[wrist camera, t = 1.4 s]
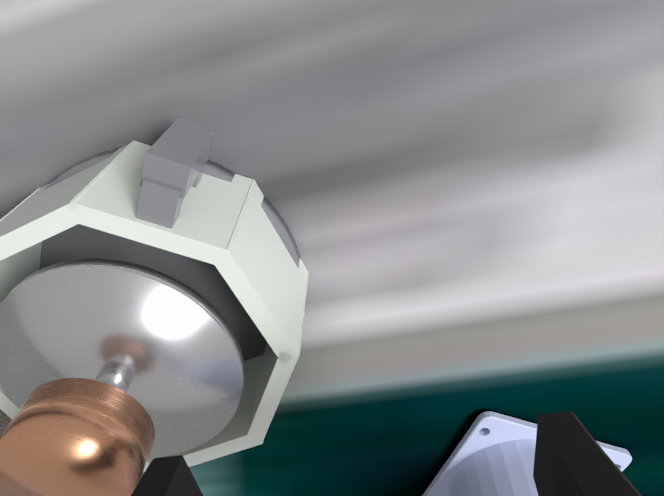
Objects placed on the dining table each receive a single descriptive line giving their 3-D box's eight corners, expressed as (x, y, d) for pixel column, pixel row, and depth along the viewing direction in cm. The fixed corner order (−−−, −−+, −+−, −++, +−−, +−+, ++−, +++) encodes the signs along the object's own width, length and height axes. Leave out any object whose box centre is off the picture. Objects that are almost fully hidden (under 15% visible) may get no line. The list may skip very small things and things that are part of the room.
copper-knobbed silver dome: (214, 466, 20) (181, 599, 16) (-8, 412, 18) (-103, 542, 14) (274, 304, 16) (251, 426, 12) (1, 223, 15) (-125, 329, 11)
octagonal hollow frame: (261, 401, 25) (243, 498, 21) (21, 337, 23) (-52, 429, 19) (357, 162, 19) (361, 229, 15) (43, 54, 17) (-57, 93, 13)
